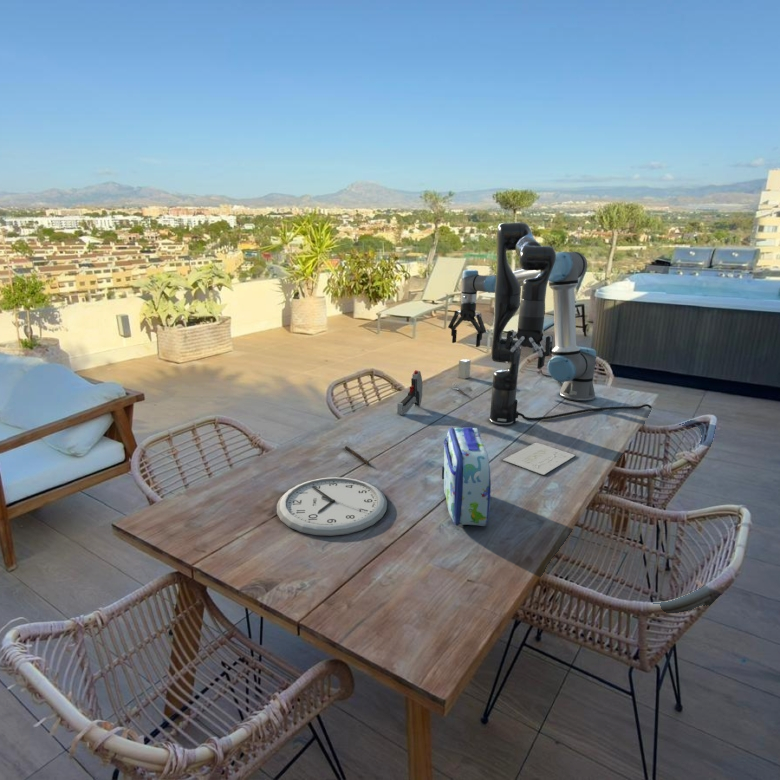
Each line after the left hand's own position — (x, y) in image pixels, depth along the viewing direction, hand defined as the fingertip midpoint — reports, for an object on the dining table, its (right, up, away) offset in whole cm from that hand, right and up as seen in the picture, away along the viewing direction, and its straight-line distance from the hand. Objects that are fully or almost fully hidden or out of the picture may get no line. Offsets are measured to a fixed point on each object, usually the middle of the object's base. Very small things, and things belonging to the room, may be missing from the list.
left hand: (526, 365), depth 163 cm
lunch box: (-23, -40, -20) cm, 50 cm away
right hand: (-5, +15, +100) cm, 101 cm away
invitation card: (+7, -30, +11) cm, 33 cm away
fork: (-10, -8, +80) cm, 81 cm away
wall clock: (-58, -39, -20) cm, 73 cm away
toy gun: (-34, -16, +54) cm, 66 cm away
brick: (-5, -1, +105) cm, 105 cm away
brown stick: (-54, -30, +10) cm, 62 cm away
